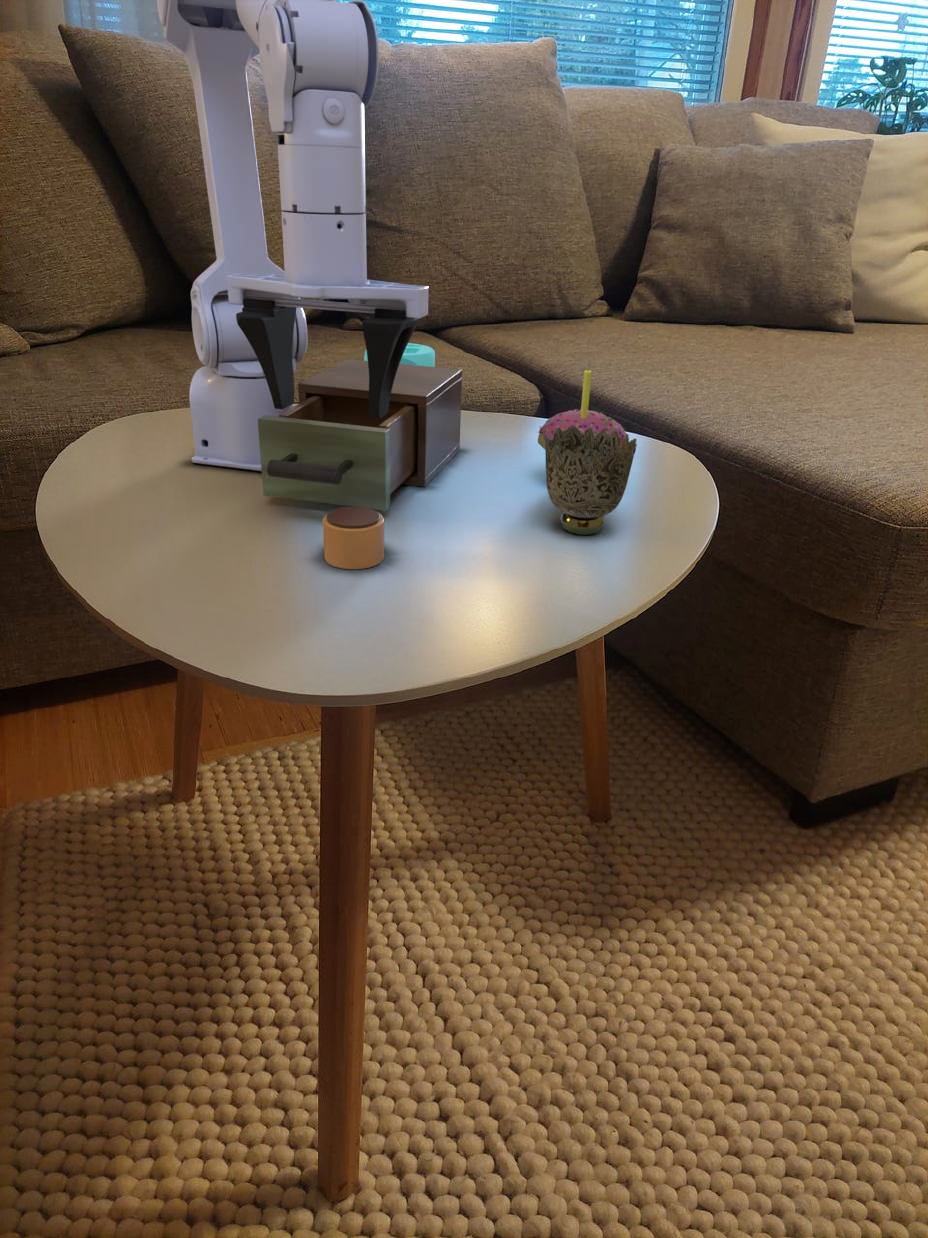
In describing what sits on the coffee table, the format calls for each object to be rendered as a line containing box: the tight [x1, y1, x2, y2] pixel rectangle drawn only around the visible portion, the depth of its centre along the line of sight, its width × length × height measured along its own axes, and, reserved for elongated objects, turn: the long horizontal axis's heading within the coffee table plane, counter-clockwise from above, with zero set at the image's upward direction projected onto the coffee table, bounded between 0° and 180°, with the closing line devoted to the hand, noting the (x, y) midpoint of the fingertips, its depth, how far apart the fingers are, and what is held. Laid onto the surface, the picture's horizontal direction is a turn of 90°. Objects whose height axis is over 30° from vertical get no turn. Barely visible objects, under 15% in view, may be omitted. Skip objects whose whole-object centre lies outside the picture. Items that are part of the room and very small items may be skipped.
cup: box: [544, 426, 638, 536], centre depth 73 cm, size 8×7×8 cm
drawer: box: [258, 394, 419, 512], centre depth 77 cm, size 16×11×7 cm
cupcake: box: [537, 361, 628, 450], centre depth 83 cm, size 9×8×12 cm
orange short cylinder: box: [322, 506, 385, 570], centre depth 67 cm, size 5×5×4 cm
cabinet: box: [297, 358, 463, 488], centre depth 88 cm, size 13×13×9 cm
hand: (331, 410), depth 66 cm, fingers open, 7 cm apart
